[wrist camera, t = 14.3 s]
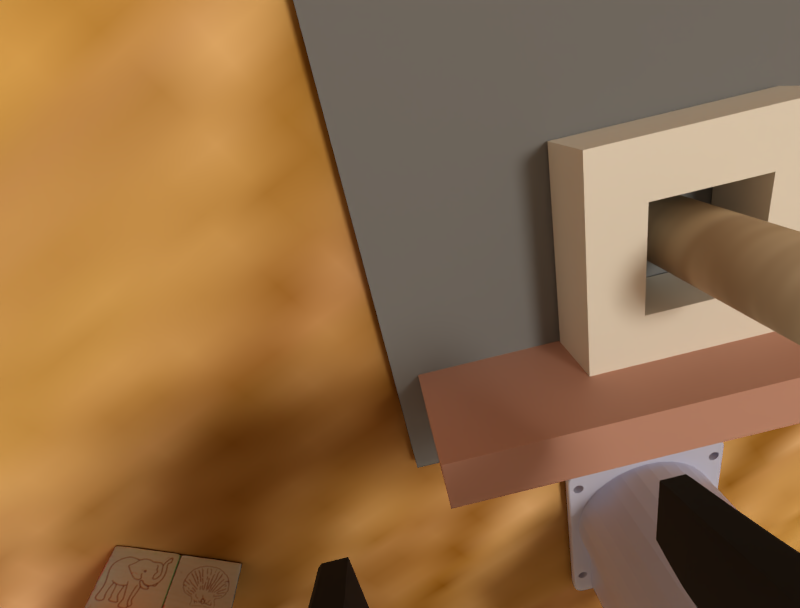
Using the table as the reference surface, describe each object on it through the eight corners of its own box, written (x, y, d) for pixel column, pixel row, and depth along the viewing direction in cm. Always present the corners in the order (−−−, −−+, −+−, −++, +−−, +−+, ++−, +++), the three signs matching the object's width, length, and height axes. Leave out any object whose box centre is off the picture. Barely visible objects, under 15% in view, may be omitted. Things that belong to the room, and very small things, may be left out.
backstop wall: (873, 303, 20) (1029, 366, 15) (426, 412, 20) (451, 508, 15) (885, 261, 19) (1054, 315, 14) (417, 375, 19) (441, 465, 14)
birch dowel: (686, 248, 18) (878, 336, 11) (624, 263, 18) (781, 360, 11) (691, 184, 16) (906, 241, 10) (624, 200, 16) (798, 268, 10)
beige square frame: (747, 296, 19) (803, 324, 16) (560, 342, 19) (589, 376, 16) (778, 85, 15) (854, 85, 13) (547, 141, 15) (582, 150, 13)
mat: (864, 348, 22) (878, 355, 21) (415, 458, 21) (417, 467, 21) (1102, -470, 11) (1141, -499, 11) (223, -267, 11) (217, -286, 10)
